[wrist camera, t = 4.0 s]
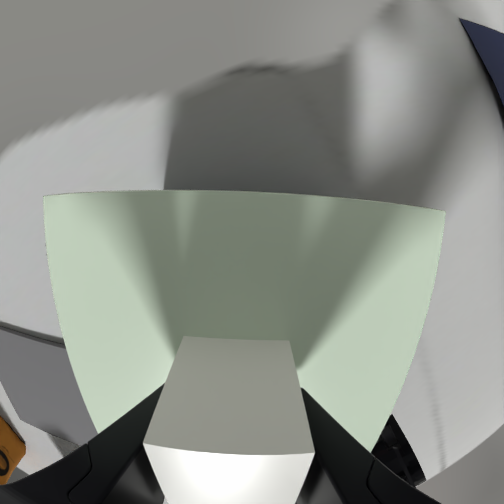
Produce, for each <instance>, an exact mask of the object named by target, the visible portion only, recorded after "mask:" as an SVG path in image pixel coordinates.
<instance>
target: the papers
mask: <svg viewBox="0 0 504 504" xmlns="http://www.w3.org/2000/svg"><path fill="white" fill-rule="evenodd" d="M459 19H460V18H459ZM460 20H461V22H462V24H463V25H464V27H465V29H466V30H467V32H468V34H469V36H470V37H471V39H472V41H473V43H474V46H475V47H476V49H477V51H478V53H479V55H480V56H481V58H482V60H483V62H484V64H485V66H486V68H487V70H488V72H489V74H490V76H491V78H492V79H493V81H494V83H495V86H496V88H497V90H498V93H499V95H500V98H501V100H502V103H503V105H504V34H502V33H500V32H497V31H495V30H492V29H490V28H487V27H484V26H481V25H479V24H476V23H473V22H470V21H466V20H463V19H460Z"/></svg>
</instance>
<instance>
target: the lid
mask: <svg viewBox="0 0 504 504" xmlns="http://www.w3.org/2000/svg"><path fill="white" fill-rule="evenodd" d="M43 208H44V227H45V239H46V249H47V257H48V265H49V272H50V278H51V285H52V290H53V296H54V301H55V306H56V310H57V315H58V319H59V323H60V327H61V331H62V335H63V339H64V343H65V346H66V350H67V353H68V357H69V360H70V363H71V366H72V369H73V372H74V375H75V378H76V381H77V384H78V386H79V389H80V392H81V395H82V397H83V400H84V402H85V405H86V407H87V410H88V412H89V414H90V417H91V419H92V421H93V424H94V426H95V428H96V430H97V432H98V434H99V433H100V432H101V431H103V430H104V429H106V428H107V427H108V426H110V425H111V424H112V423H114V422H115V421H116V420H118V419H119V418H120V417H122V416H123V415H124V414H125V413H127V412H128V411H129V410H131V409H132V408H133V407H135V406H136V405H137V404H138V403H140V402H141V401H142V400H144V399H145V398H146V397H147V396H149V395H150V394H151V393H153V392H154V391H155V390H156V389H158V388H159V387H160V386H161V385H163V384H164V383H165V384H164V387H163V390H162V392H161V395H160V398H159V400H158V403H157V406H156V408H155V411H154V414H153V416H152V419H151V422H150V424H149V427H148V430H147V433H146V435H145V438H144V441H143V445H144V448H145V451H146V453H147V456H148V458H149V461H150V463H151V466H152V468H153V471H154V473H155V476H156V478H157V480H158V483H159V485H160V487H161V489H162V491H163V494H164V496H165V498H166V500H167V502H168V504H295V502H296V500H297V497H298V495H299V493H300V490H301V488H302V486H303V483H304V481H305V478H306V476H307V473H308V470H309V468H310V465H311V462H312V460H313V457H314V454H315V450H314V446H313V441H312V437H311V432H310V428H309V423H308V419H307V414H306V410H305V405H304V401H303V397H302V392H301V388H304V389H305V390H306V391H307V392H308V393H309V394H310V395H311V396H312V397H313V398H314V399H315V400H316V401H317V402H318V403H319V404H320V405H321V406H322V407H323V408H324V409H325V410H326V411H327V412H328V413H329V414H330V415H331V416H332V417H333V418H334V419H335V420H336V421H337V422H338V423H339V424H340V425H341V426H342V427H343V428H344V429H345V430H346V431H348V432H349V433H350V434H351V435H352V436H353V437H354V438H355V439H356V440H357V441H358V442H359V443H360V444H361V445H363V446H364V447H365V448H366V449H367V450H368V451H369V452H370V453H371V451H372V449H373V448H374V446H375V444H376V442H377V440H378V438H379V436H380V434H381V432H382V430H383V428H384V426H385V424H386V422H387V420H388V418H389V416H390V414H391V412H392V409H393V407H394V405H395V403H396V400H397V398H398V396H399V393H400V391H401V389H402V386H403V384H404V381H405V379H406V376H407V373H408V371H409V368H410V365H411V363H412V360H413V357H414V354H415V351H416V348H417V345H418V342H419V339H420V336H421V332H422V329H423V326H424V322H425V319H426V315H427V311H428V308H429V304H430V300H431V296H432V291H433V287H434V282H435V278H436V273H437V268H438V262H439V257H440V251H441V245H442V238H443V231H444V223H445V214H446V211H442V210H437V209H433V208H426V207H419V206H412V205H405V204H397V203H389V202H380V201H371V200H362V199H352V198H341V197H330V196H318V195H304V194H290V193H272V192H251V191H222V190H129V191H101V192H81V193H66V194H54V195H47V196H43Z"/></svg>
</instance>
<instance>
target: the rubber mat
mask: <svg viewBox="0 0 504 504" xmlns="http://www.w3.org/2000/svg"><path fill="white" fill-rule="evenodd" d="M0 381H1V383H2V385H3V387H4V390H5V392H6V394H7V396H8V398H9V400H10V402H11V403H12V405H13V407H14V409H15V411H16V413H17V414H18V416H19V418H20V420H22V421H24V422H26V423H28V424H30V425H32V426H34V427H36V428H39V429H41V430H43V431H45V432H47V433H50V434H52V435H54V436H57V437H59V438H62V439H64V440H67V441H69V442H72V443H75V444H77V445H80V446H82V445H83V444H85V443H87V442H88V441H89V440H90V439H92V438H93V437H95V436H96V435H97V434H98V432H97V430H96V428H95V426H94V424H93V421H92V419H91V417H90V414H89V412H88V410H87V407H86V405H85V402H84V400H83V397H82V395H81V392H80V389H79V386H78V384H77V381H76V378H75V375H74V372H73V369H72V366H71V363H70V360H69V357H68V353H67V350H66V346H65V345H63V344H59V343H55V342H51V341H48V340H44V339H40V338H37V337H33V336H30V335H26V334H23V333H20V332H17V331H13V330H10V329H7V328H4V327H1V326H0ZM87 444H88V443H87Z"/></svg>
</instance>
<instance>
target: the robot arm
mask: <svg viewBox="0 0 504 504" xmlns="http://www.w3.org/2000/svg"><path fill="white" fill-rule="evenodd" d="M164 384H165V383H164ZM164 384H163V385H161V386H160V387H159V388H158V389H156V390H155V391H154V392H153V393H151V394H150V395H149V396H147V397H146V398H145V399H144V400H142V401H141V402H140V403H138V404H137V405H136V406H135V407H133V408H132V409H131V410H129V411H128V412H127V413H125V414H124V415H123V416H122V417H120V418H119V419H118V420H116V421H115V422H114V423H112V424H111V425H110V426H108V427H107V428H106V429H104V430H103V431H101V432H100V433H99V434H97V435H96V436H95V437H93V438H92V439H90V440H89V441H88V442H87V443H88V444H87V443H85V444H83V445H82V446H81V447H79V448H78V449H76V450H75V451H73V452H72V453H70V454H69V455H67V456H66V457H64V458H62V459H61V460H59V461H57V462H55V463H53V464H51V465H50V466H48V467H46V468H44V469H42V470H40V471H38V472H35V473H33V474H31V475H29V476H27V477H25V478H23V479H20V480H18V481H16V482H13V483H10V484H4V485H0V504H163V501H164V498H165V496H164V494H163V491H162V489H161V487H160V485H159V483H158V480H157V478H156V476H155V473H154V471H153V468H152V466H151V463H150V461H149V458H148V456H147V453H146V451H145V448H144V445H143V441H144V438H145V435H146V433H147V430H148V427H149V424H150V422H151V419H152V416H153V414H154V411H155V408H156V406H157V403H158V400H159V398H160V395H161V392H162V390H163V387H164ZM301 392H302V397H303V401H304V405H305V410H306V414H307V419H308V423H309V428H310V432H311V437H312V441H313V446H314V450H315V454H314V457H313V460H312V462H311V465H310V468H309V470H308V473H307V476H306V478H305V481H304V483H303V486H302V488H301V490H300V493H299V495H298V497H297V500H296V502H295V504H441V503H439V502H438V501H436V500H434V499H433V498H431V497H429V496H428V495H426V494H424V493H423V492H421V491H419V490H418V489H416V487H415V486H417V485H420V484H421V483H423V482H425V481H426V478H425V475H424V473H423V471H422V468H421V466H420V464H419V462H418V460H417V458H416V456H415V454H414V452H413V450H412V448H411V446H410V444H409V442H408V441H407V439H406V437H405V435H404V434H403V432H402V430H401V428H400V427H399V425H398V423H397V421H396V420H395V418H394V416H393V415H390V416H389V418H388V420H387V422H386V424H385V426H384V428H383V430H382V432H381V434H380V436H379V438H378V440H377V442H376V444H375V446H374V448H373V449H372V451H371V453H370V452H369V451H368V450H367V449H366V448H365V447H364V446H363V445H361V444H360V443H359V442H358V441H357V440H356V439H355V438H354V437H353V436H352V435H351V434H350V433H349V432H348V431H346V430H345V429H344V428H343V427H342V426H341V425H340V424H339V423H338V422H337V421H336V420H335V419H334V418H333V417H332V416H331V415H330V414H329V413H328V412H327V411H326V410H325V409H324V408H323V407H322V406H321V405H320V404H319V403H318V402H317V401H316V400H315V399H314V398H313V397H312V396H311V395H310V394H309V393H308V392H307V391H306V390H305V389H304V388H301Z"/></svg>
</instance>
